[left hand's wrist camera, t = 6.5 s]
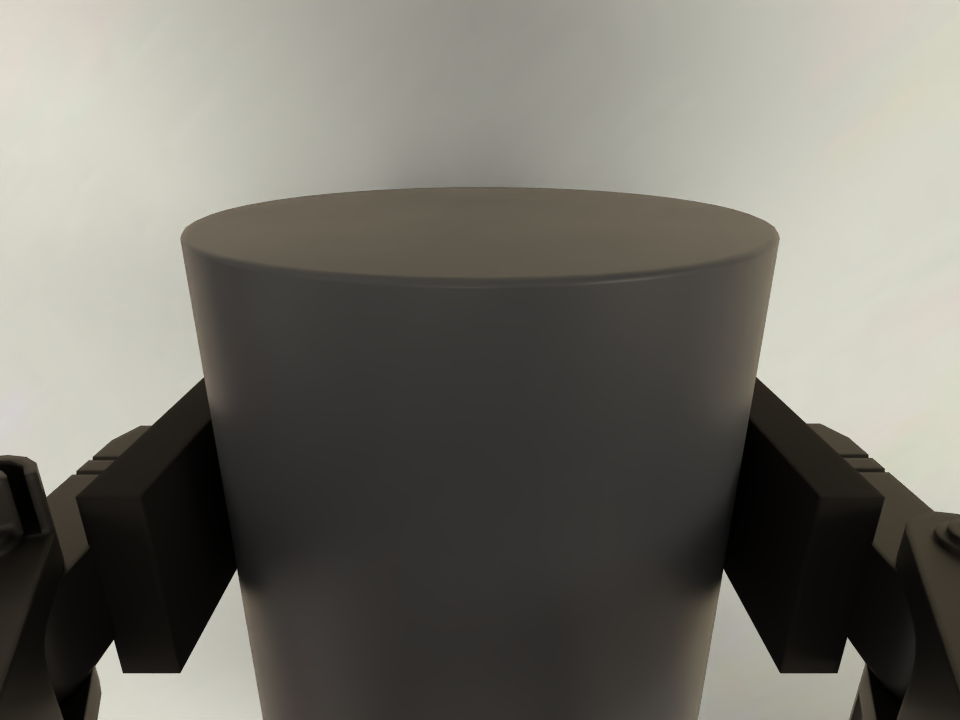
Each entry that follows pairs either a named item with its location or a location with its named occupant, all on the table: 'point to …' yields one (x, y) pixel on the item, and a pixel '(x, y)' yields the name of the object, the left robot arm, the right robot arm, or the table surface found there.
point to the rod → (480, 444)
